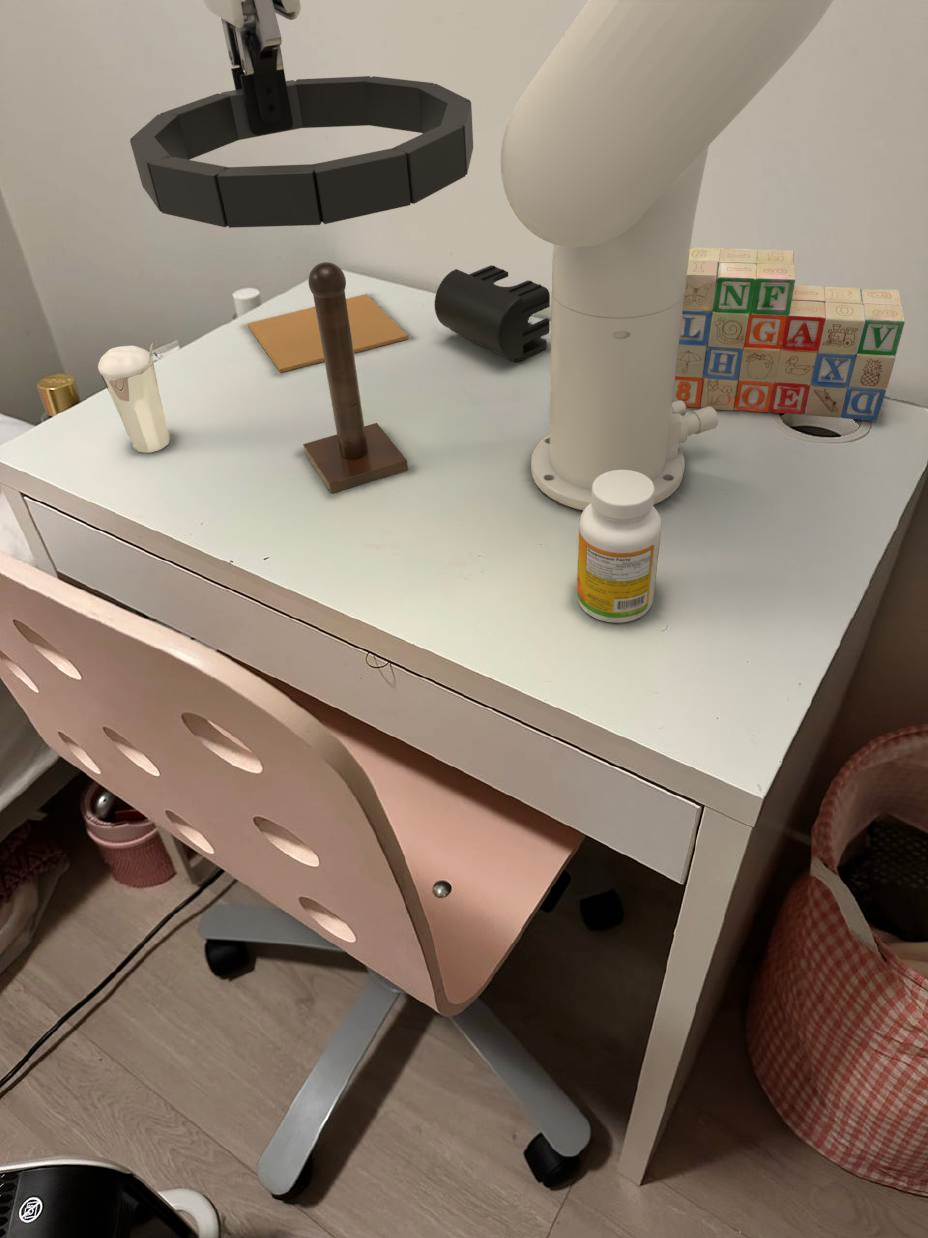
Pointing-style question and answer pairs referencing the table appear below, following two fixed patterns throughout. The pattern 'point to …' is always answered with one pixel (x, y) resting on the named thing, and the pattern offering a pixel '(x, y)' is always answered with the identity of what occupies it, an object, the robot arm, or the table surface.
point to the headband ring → (309, 187)
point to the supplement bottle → (618, 547)
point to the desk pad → (299, 336)
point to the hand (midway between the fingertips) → (267, 125)
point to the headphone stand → (345, 397)
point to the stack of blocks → (782, 338)
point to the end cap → (494, 311)
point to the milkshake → (136, 395)
